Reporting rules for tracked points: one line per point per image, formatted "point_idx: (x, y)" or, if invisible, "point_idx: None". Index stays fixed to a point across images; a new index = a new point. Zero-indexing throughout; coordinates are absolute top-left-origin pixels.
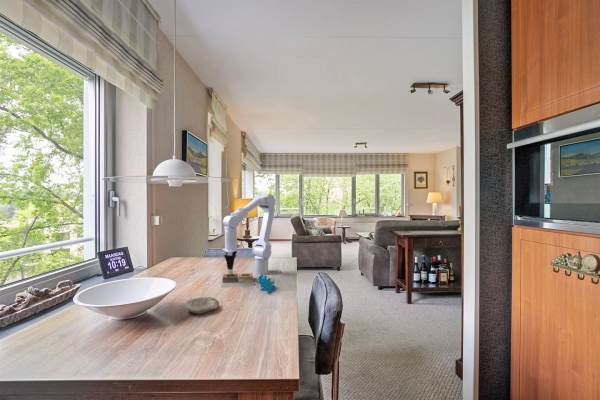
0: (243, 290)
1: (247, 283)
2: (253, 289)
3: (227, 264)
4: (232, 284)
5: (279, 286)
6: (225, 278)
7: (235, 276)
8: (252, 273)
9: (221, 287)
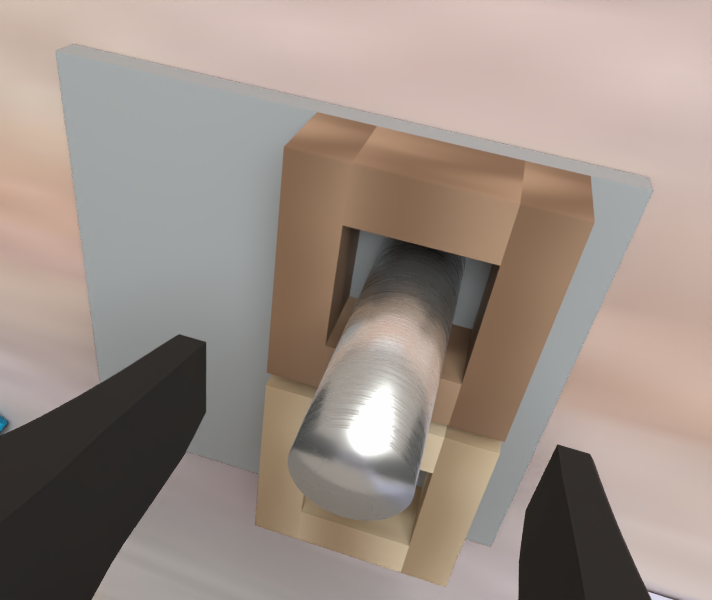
0: (29, 299)
1: (214, 406)
2: (65, 390)
3: (84, 400)
4: (192, 240)
5: (147, 572)
6: (287, 193)
7: (313, 361)
8: (425, 578)
9: (58, 55)
